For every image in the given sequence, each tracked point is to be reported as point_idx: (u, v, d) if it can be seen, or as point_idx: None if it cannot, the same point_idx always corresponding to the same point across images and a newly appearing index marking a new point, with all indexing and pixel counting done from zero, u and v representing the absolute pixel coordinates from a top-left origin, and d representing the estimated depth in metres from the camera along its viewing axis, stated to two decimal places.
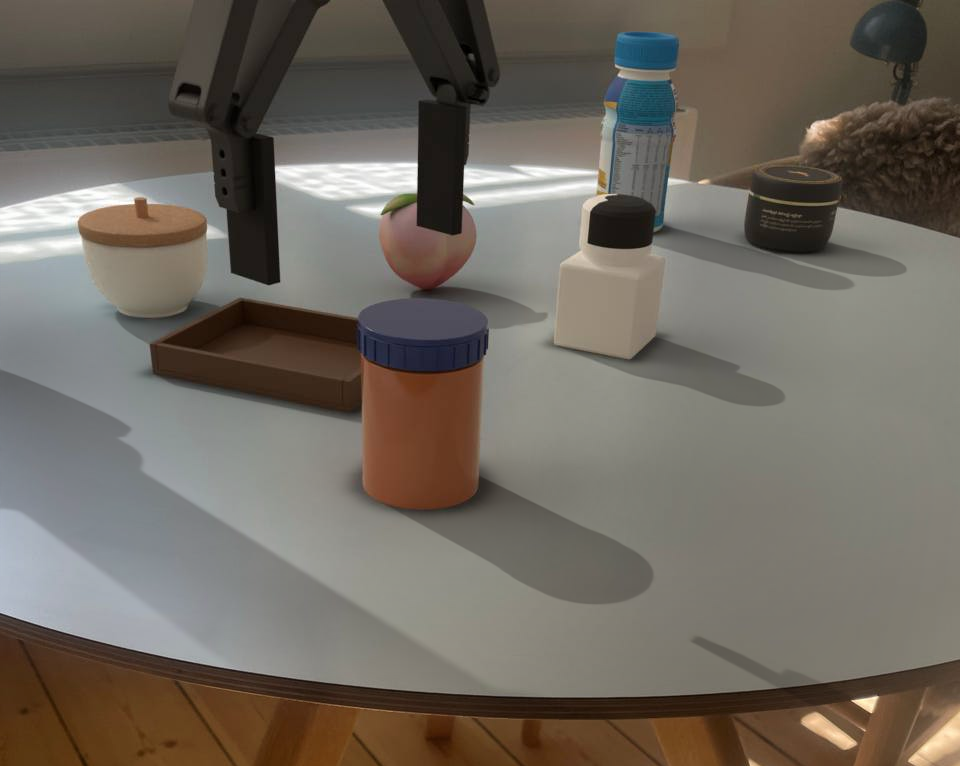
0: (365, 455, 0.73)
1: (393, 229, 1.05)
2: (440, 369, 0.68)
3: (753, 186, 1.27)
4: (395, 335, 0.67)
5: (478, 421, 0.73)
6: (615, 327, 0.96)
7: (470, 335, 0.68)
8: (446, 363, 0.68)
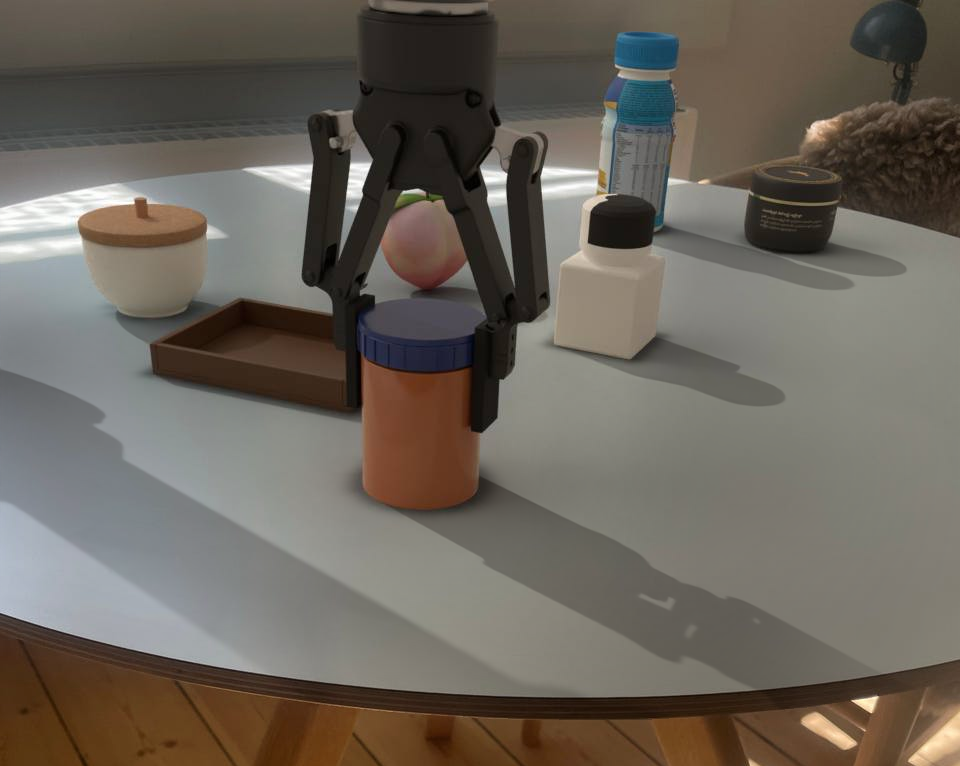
0: (365, 455, 0.73)
1: (393, 229, 1.05)
2: (440, 369, 0.68)
3: (753, 186, 1.27)
4: (395, 335, 0.67)
5: None
6: (615, 327, 0.96)
7: (470, 335, 0.68)
8: (446, 363, 0.68)
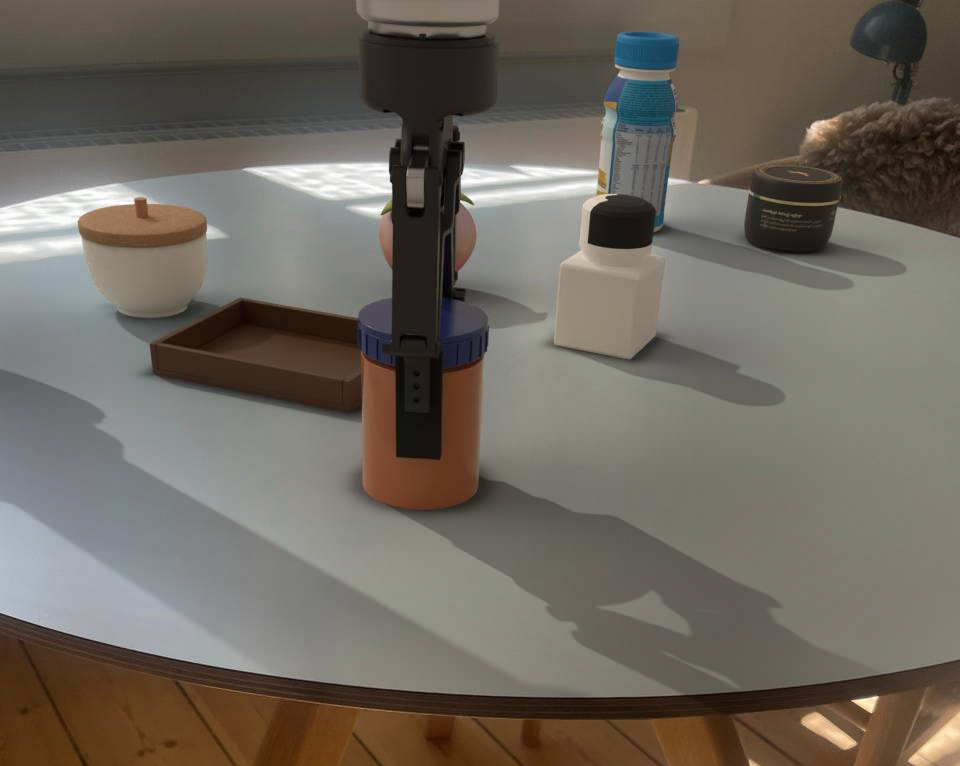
0: (365, 455, 0.73)
1: None
2: None
3: (753, 186, 1.27)
4: (483, 320, 0.70)
5: (478, 421, 0.73)
6: (615, 327, 0.96)
7: (451, 299, 0.73)
8: None
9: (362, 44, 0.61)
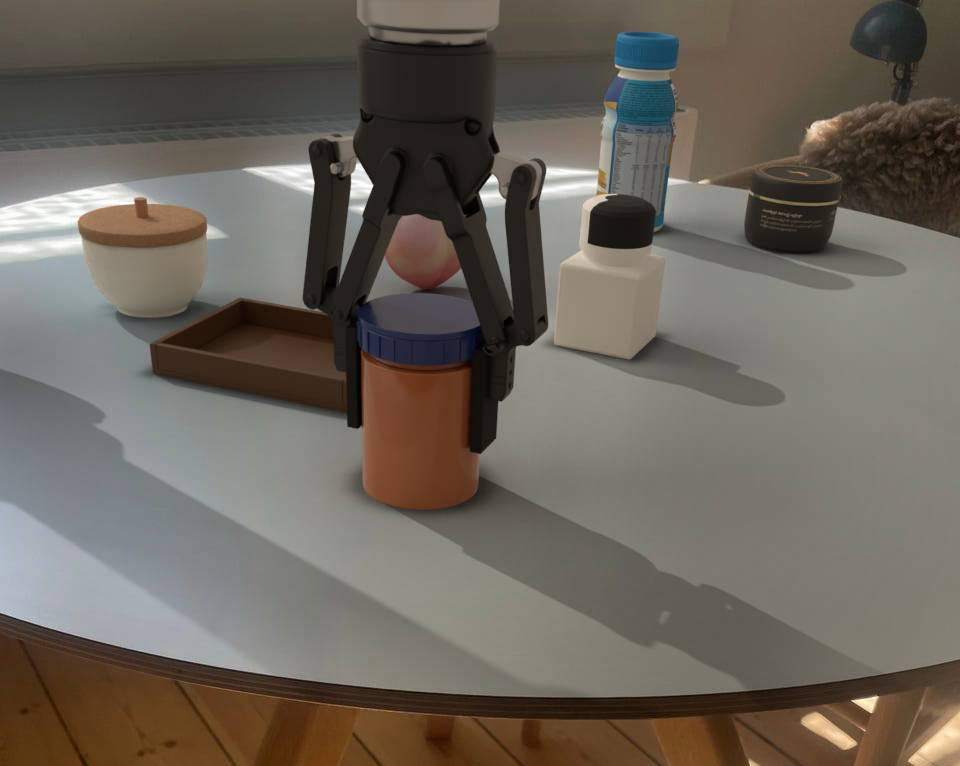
0: (365, 455, 0.73)
1: None
2: None
3: (753, 186, 1.27)
4: (413, 294, 0.73)
5: None
6: (615, 327, 0.96)
7: (359, 308, 0.70)
8: None
9: None
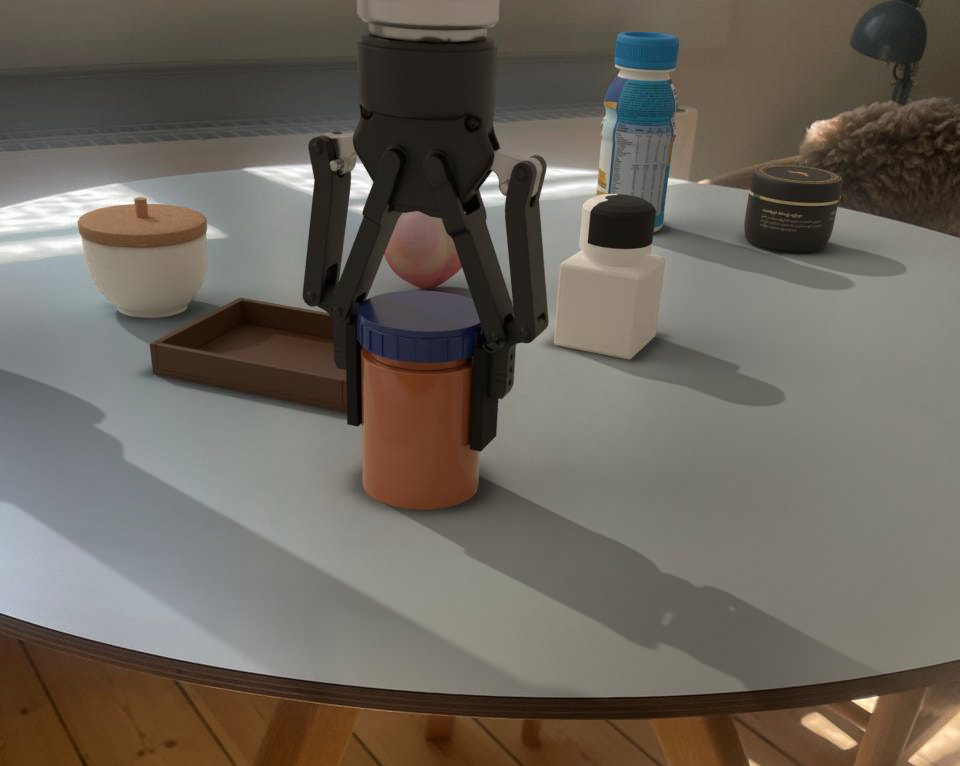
0: (365, 455, 0.73)
1: None
2: (398, 359, 0.68)
3: (753, 186, 1.27)
4: (368, 317, 0.68)
5: None
6: (615, 327, 0.96)
7: (433, 332, 0.67)
8: (404, 354, 0.67)
9: None
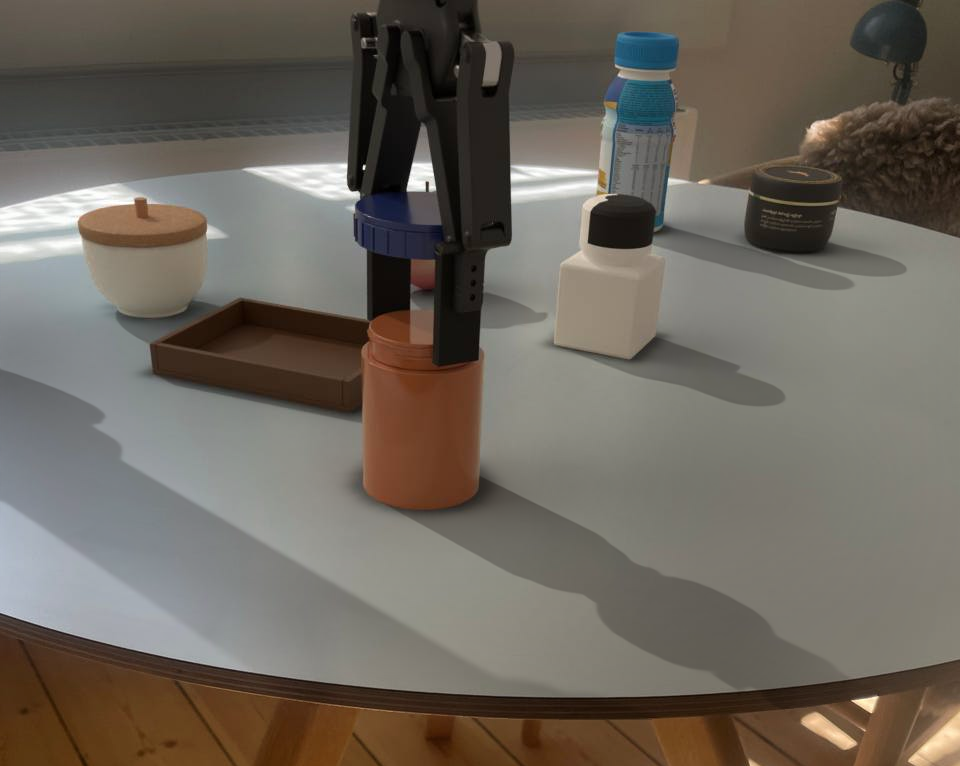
0: (366, 455, 0.73)
1: None
2: None
3: (753, 186, 1.27)
4: None
5: (479, 421, 0.73)
6: (615, 327, 0.96)
7: None
8: None
9: None
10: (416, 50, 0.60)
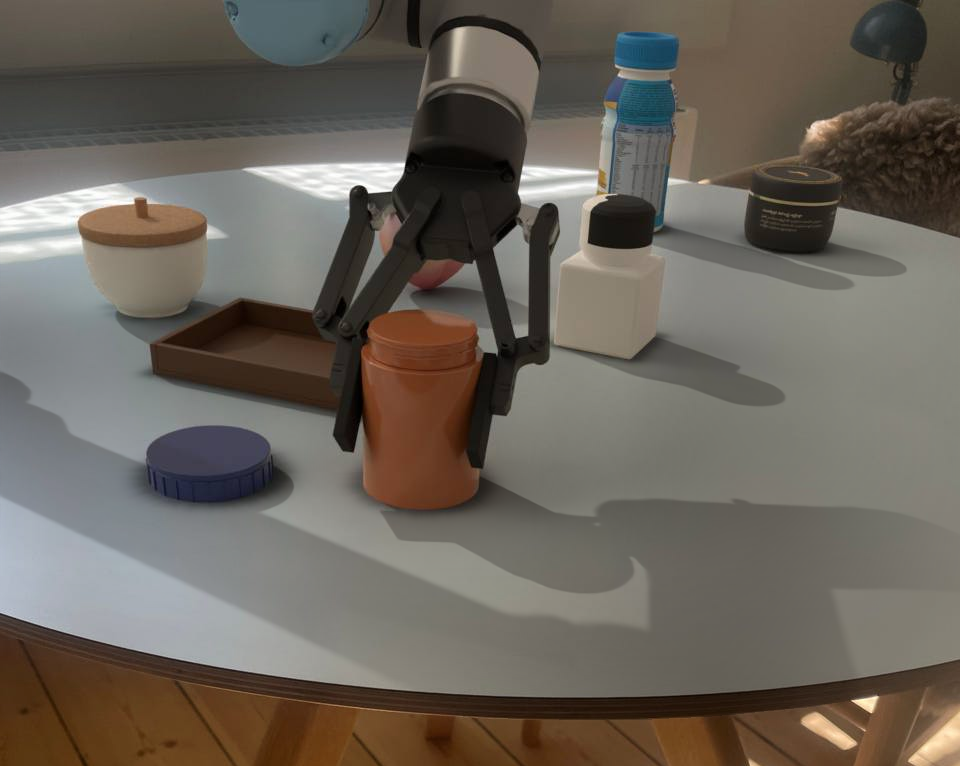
0: (366, 455, 0.73)
1: (393, 229, 1.05)
2: None
3: (753, 186, 1.27)
4: (262, 439, 0.76)
5: None
6: (615, 327, 0.96)
7: (208, 426, 0.78)
8: None
9: (491, 104, 0.72)
10: (482, 204, 0.72)
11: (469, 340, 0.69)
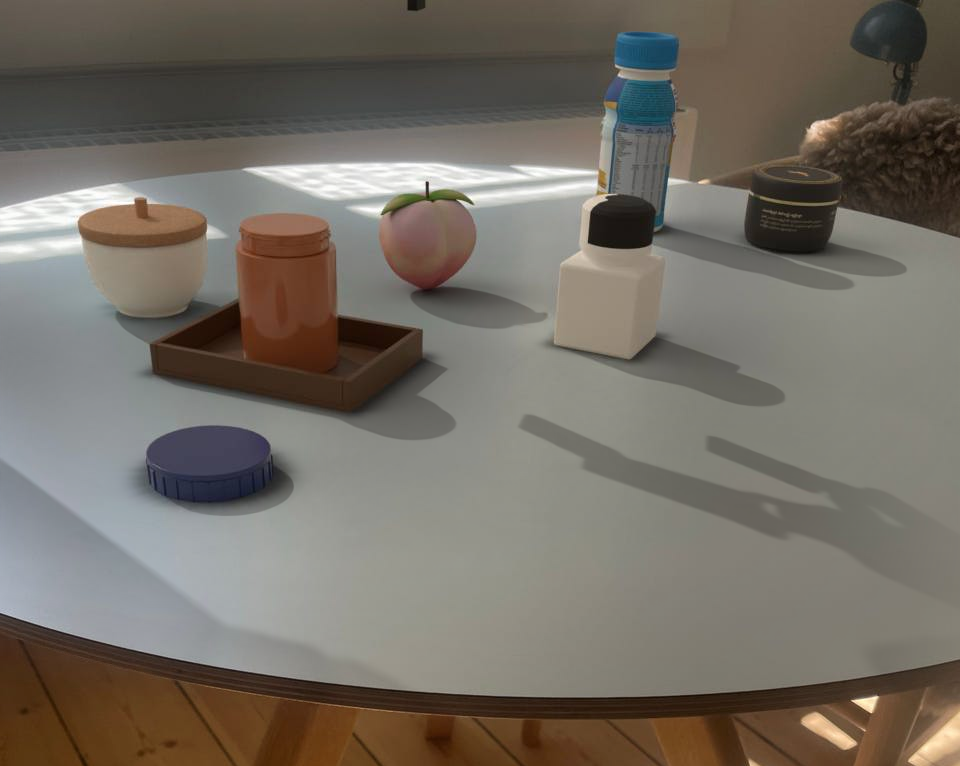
0: (242, 332, 0.90)
1: (393, 229, 1.05)
2: None
3: (753, 186, 1.27)
4: (262, 439, 0.76)
5: (333, 303, 0.89)
6: (615, 327, 0.96)
7: (208, 426, 0.78)
8: None
9: None
10: None
11: (319, 234, 0.86)
